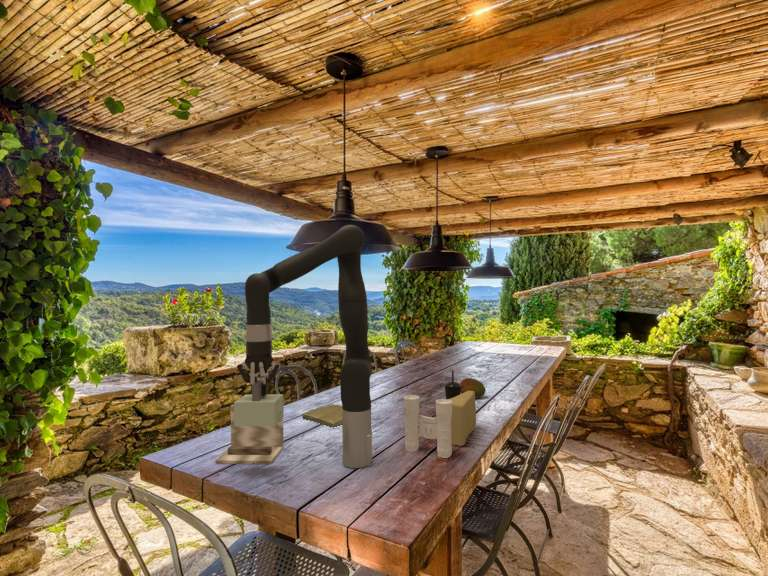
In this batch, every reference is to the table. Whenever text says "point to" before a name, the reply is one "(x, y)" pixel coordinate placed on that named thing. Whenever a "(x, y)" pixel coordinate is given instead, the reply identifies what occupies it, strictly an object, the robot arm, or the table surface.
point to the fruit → (473, 387)
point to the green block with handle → (258, 408)
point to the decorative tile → (325, 415)
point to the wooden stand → (253, 444)
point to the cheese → (462, 417)
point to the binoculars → (428, 425)
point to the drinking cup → (452, 388)
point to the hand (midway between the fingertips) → (259, 395)
